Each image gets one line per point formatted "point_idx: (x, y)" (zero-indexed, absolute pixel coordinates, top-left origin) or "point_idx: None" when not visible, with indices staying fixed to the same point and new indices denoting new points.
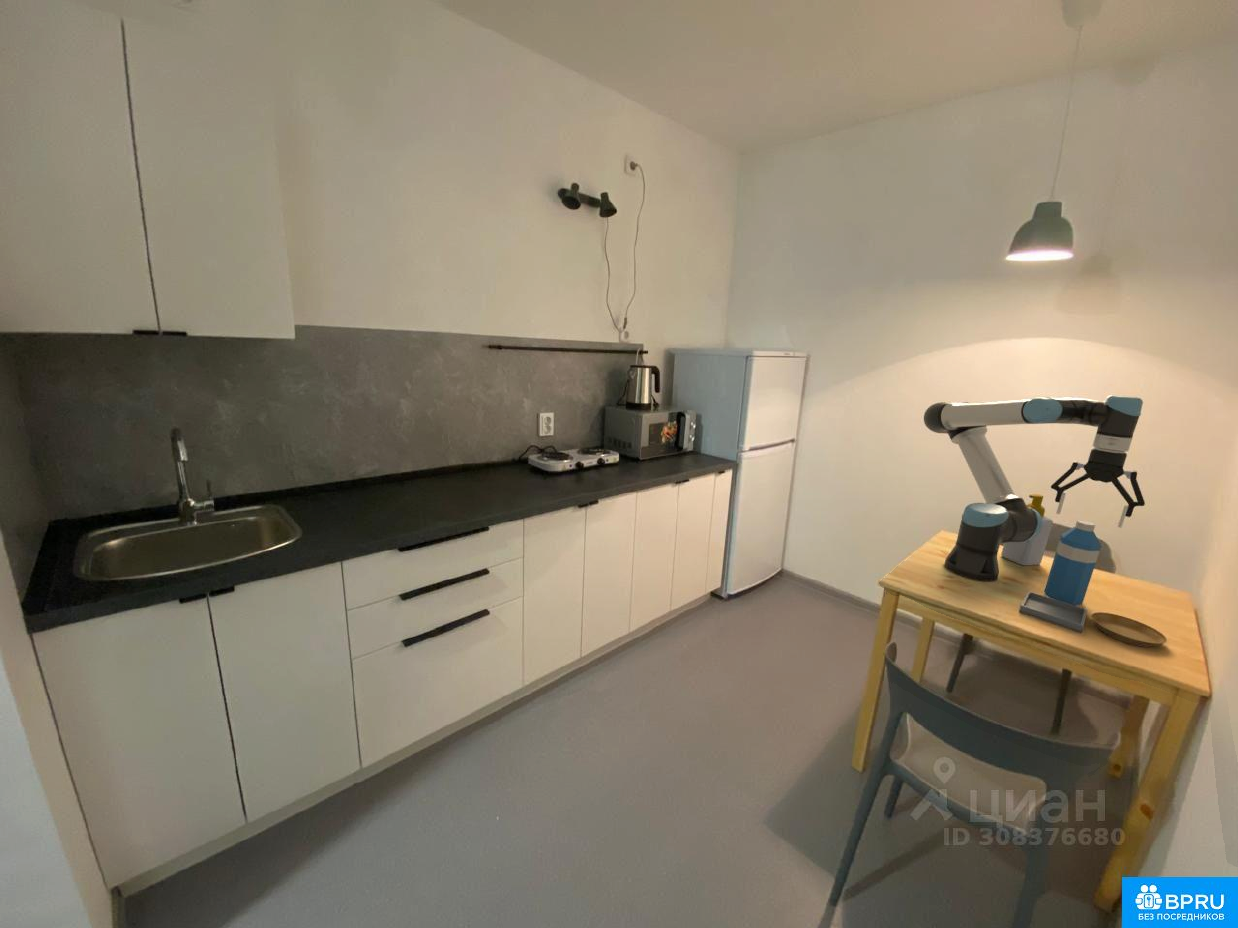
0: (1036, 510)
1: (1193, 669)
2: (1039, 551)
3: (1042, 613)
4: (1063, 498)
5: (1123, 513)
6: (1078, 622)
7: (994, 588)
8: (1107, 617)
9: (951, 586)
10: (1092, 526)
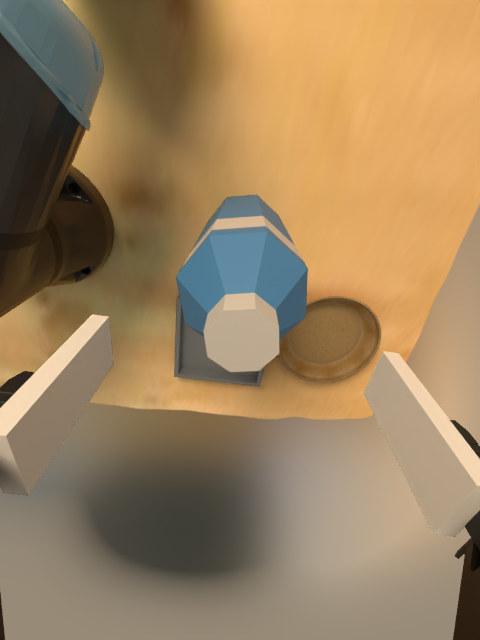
0: None
1: None
2: None
3: (206, 379)
4: (53, 450)
5: (406, 469)
6: None
7: (123, 292)
8: (309, 304)
9: None
10: (267, 359)
